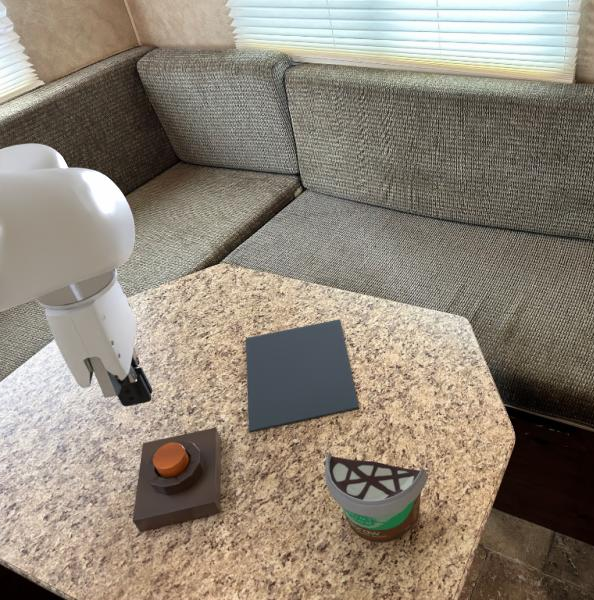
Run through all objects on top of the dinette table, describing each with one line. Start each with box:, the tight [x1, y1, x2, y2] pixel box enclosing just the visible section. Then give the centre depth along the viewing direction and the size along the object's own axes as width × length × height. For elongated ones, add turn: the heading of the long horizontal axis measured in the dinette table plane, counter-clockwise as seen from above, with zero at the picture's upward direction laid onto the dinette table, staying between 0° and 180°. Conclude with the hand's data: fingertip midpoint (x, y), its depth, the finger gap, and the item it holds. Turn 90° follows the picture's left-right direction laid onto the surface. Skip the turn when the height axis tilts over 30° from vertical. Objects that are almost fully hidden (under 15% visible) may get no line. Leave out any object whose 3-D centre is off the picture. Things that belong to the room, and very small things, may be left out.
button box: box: [132, 427, 222, 533], centre depth 80 cm, size 12×10×4 cm
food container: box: [324, 450, 429, 544], centre depth 71 cm, size 12×6×10 cm, turn 76°
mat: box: [245, 318, 360, 433], centre depth 95 cm, size 20×16×1 cm
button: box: [153, 443, 189, 478], centre depth 78 cm, size 4×4×2 cm
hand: (138, 398), depth 70 cm, fingers closed
